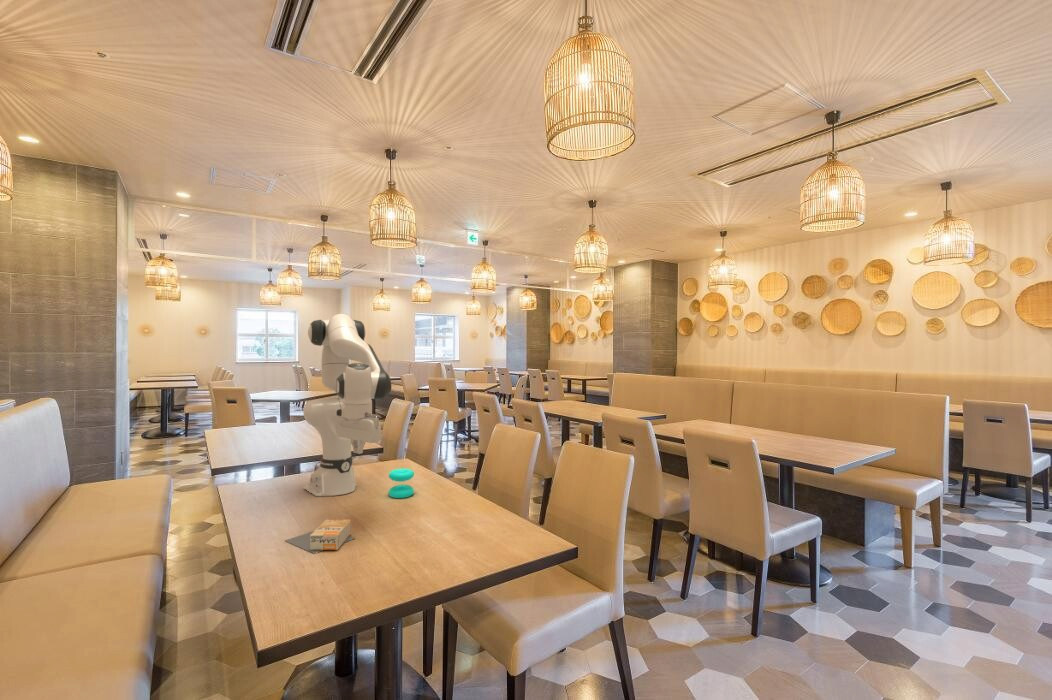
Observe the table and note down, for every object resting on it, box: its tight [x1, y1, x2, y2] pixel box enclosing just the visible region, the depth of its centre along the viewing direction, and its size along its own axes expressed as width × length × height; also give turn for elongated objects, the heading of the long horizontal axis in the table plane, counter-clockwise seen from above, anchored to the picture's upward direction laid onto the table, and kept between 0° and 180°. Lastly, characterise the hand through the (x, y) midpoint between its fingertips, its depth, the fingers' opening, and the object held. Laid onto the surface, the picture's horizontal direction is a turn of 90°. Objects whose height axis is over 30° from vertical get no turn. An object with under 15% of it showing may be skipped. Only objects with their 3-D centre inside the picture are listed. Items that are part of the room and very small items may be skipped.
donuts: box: [388, 468, 415, 499], centre depth 198 cm, size 10×10×10 cm
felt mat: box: [284, 530, 356, 554], centre depth 152 cm, size 16×14×1 cm
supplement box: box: [310, 518, 352, 551], centre depth 150 cm, size 8×5×13 cm
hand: (357, 452), depth 163 cm, fingers closed
